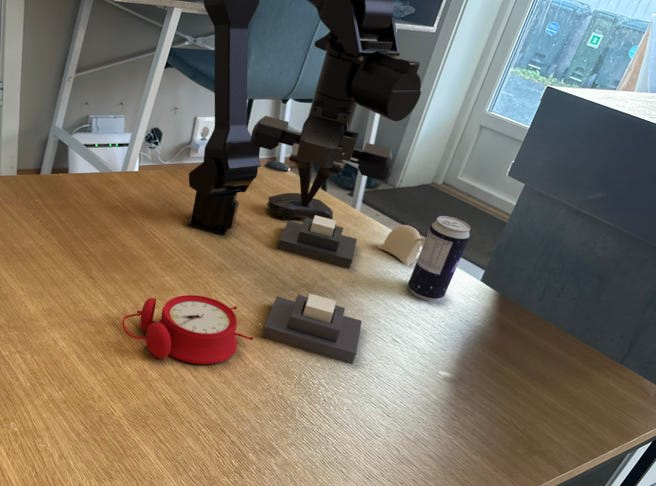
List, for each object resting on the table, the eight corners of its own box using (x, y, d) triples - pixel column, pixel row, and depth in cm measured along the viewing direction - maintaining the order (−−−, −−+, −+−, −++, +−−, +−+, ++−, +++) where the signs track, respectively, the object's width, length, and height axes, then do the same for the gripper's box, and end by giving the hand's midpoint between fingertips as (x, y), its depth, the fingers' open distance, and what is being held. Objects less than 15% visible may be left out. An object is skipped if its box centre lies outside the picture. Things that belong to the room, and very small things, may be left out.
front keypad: (261, 337, 91) (267, 314, 89) (273, 306, 99) (279, 284, 97) (352, 364, 89) (360, 341, 87) (358, 330, 97) (366, 309, 95)
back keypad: (276, 249, 114) (282, 229, 113) (285, 229, 122) (290, 210, 120) (349, 269, 113) (355, 249, 111) (354, 247, 120) (360, 229, 118)
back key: (309, 232, 114) (312, 222, 113) (312, 224, 117) (315, 214, 116) (331, 238, 114) (334, 228, 113) (333, 230, 117) (336, 220, 116)
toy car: (333, 225, 127) (340, 205, 125) (270, 220, 124) (275, 199, 122) (323, 212, 131) (329, 192, 129) (262, 206, 129) (267, 186, 127)
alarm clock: (261, 341, 83) (145, 315, 78) (240, 382, 87) (126, 360, 81) (236, 296, 92) (129, 269, 86) (217, 335, 95) (112, 311, 89)
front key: (302, 316, 91) (305, 305, 90) (306, 304, 94) (309, 293, 93) (329, 324, 91) (333, 313, 90) (332, 311, 93) (336, 300, 92)
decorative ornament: (392, 245, 124) (402, 216, 121) (428, 267, 118) (440, 238, 115) (376, 247, 122) (386, 219, 119) (412, 270, 116) (423, 240, 113)
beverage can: (444, 306, 107) (475, 235, 100) (407, 298, 107) (436, 226, 101) (440, 290, 112) (470, 220, 105) (404, 281, 112) (432, 211, 105)
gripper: (255, 88, 86) (228, 206, 95) (405, 128, 83) (363, 246, 92) (272, 72, 95) (246, 181, 104) (409, 107, 92) (370, 216, 101)
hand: (304, 205), depth 100 cm, fingers closed
